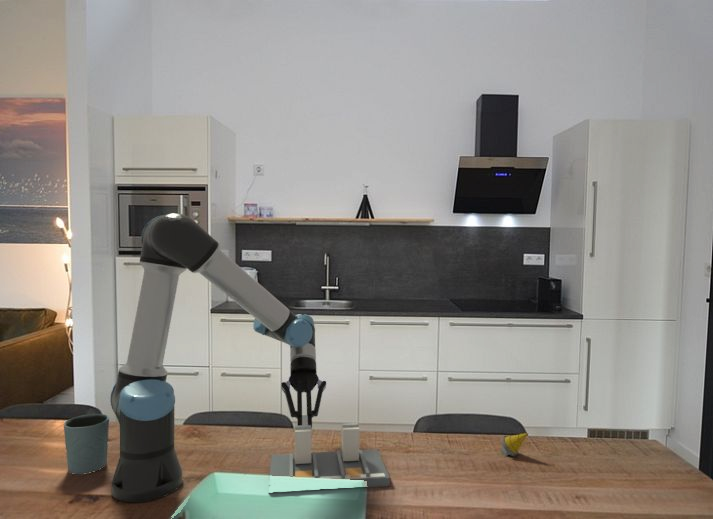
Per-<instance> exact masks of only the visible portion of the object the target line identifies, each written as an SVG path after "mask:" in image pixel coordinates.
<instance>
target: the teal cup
mask: <svg viewBox="0 0 713 519" xmlns="http://www.w3.org/2000/svg"><path fill="white" fill-rule="evenodd" d="M109 426H110V416H109V415H107V414H103V413H90V414H84V415H78V416H76V417H72V418H70V419H68V420H66V421H64V423H63V432H64V444H65V450H66V453H65V454H66V463H67V471H69V472H70V473H74V474H84V473H89V472H93V471H96V470H99V469H100V468H102V467H104V466H105V465H106V466H107V464H108V450H109V449H108V447H109V444H108V442H109ZM106 466H105V467H106ZM105 467H104V468H105ZM69 472H68V473H69ZM70 473H69V474H70Z"/></svg>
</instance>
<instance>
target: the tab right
mask: <svg viewBox="0 0 713 519" xmlns="http://www.w3.org/2000/svg"><path fill="white" fill-rule="evenodd" d="M359 426H360V425H359V423H358V422H352V423H351V422H350V423H349V422H348V423H347V422H346V423H341V451H342V458H343V461H359V450H360V427H359Z"/></svg>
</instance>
